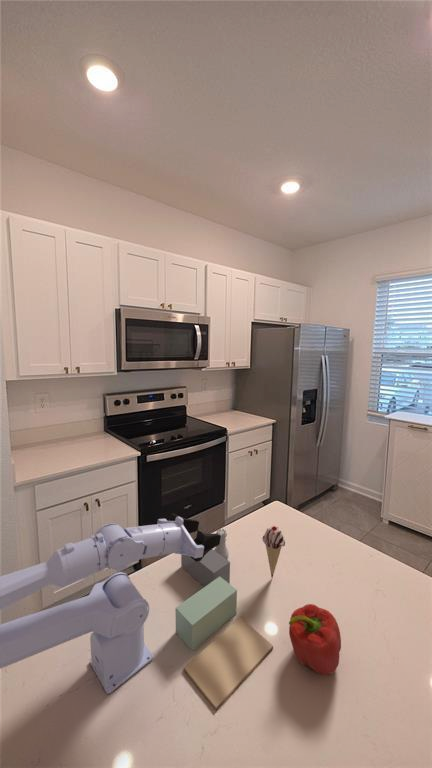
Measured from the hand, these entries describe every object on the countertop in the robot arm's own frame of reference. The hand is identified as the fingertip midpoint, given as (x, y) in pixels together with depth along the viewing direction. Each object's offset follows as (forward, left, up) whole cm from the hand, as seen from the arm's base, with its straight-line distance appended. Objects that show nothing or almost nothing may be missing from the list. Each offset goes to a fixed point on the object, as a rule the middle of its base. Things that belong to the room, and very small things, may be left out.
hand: (207, 532), depth 73 cm
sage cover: (-3, -4, -18) cm, 19 cm away
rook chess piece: (+14, +9, -19) cm, 25 cm away
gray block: (+6, +7, -18) cm, 21 cm away
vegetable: (+7, -24, -19) cm, 31 cm away
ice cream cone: (+18, -6, -19) cm, 26 cm away
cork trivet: (-5, -13, -18) cm, 23 cm away
